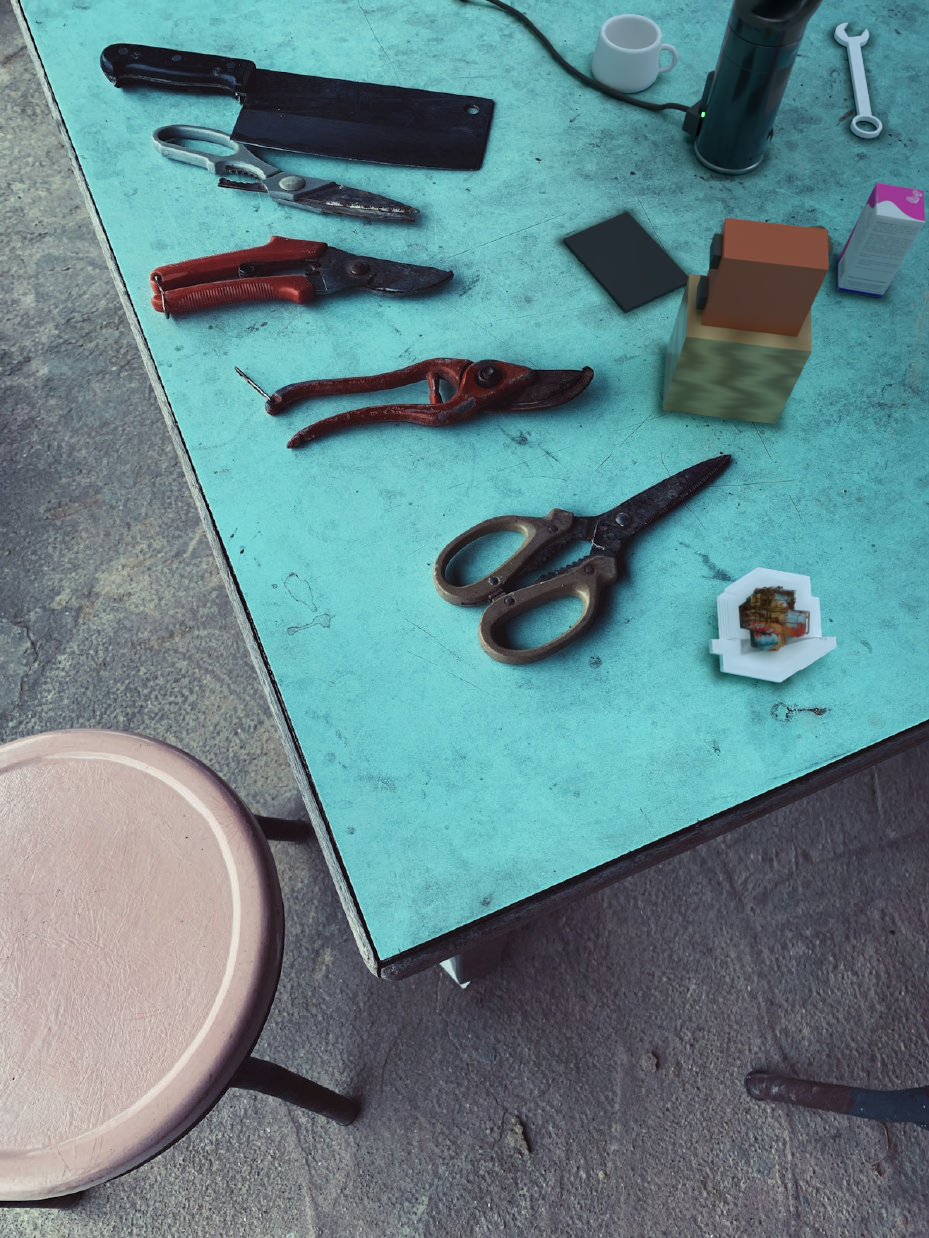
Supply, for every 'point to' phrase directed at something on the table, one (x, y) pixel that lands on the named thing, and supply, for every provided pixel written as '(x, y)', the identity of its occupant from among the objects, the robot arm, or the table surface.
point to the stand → (730, 366)
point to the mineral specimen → (769, 626)
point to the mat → (626, 261)
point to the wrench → (858, 80)
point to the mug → (630, 53)
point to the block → (762, 276)
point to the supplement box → (880, 240)
